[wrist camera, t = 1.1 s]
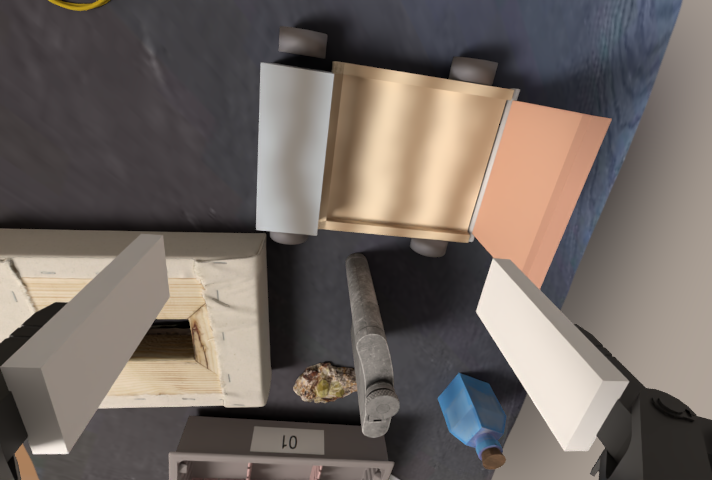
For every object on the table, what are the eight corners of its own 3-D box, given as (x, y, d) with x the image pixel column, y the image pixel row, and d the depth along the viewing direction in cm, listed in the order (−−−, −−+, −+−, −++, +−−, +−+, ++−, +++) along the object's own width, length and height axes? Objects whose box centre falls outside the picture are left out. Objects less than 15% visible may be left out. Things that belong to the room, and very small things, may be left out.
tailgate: (464, 238, 45) (516, 300, 33) (509, 87, 37) (596, 99, 26) (478, 239, 45) (534, 302, 33) (525, 90, 38) (618, 102, 26)
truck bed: (265, 226, 44) (255, 257, 37) (273, 27, 35) (262, 18, 28) (452, 243, 48) (475, 275, 41) (502, 66, 39) (544, 67, 32)
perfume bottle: (437, 398, 60) (463, 470, 50) (458, 372, 58) (490, 442, 48) (467, 407, 62) (498, 480, 51) (488, 383, 60) (525, 453, 49)
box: (268, 226, 45) (-18, 223, 42) (259, 256, 38) (-84, 257, 35) (276, 364, 56) (48, 372, 52) (270, 408, 49) (7, 420, 45)
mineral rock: (297, 415, 56) (290, 391, 51) (297, 388, 60) (290, 363, 54) (366, 405, 57) (366, 381, 52) (362, 379, 61) (362, 354, 55)
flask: (372, 251, 47) (400, 348, 31) (375, 337, 54) (400, 455, 37) (344, 253, 47) (357, 353, 31) (351, 339, 53) (364, 459, 37)
